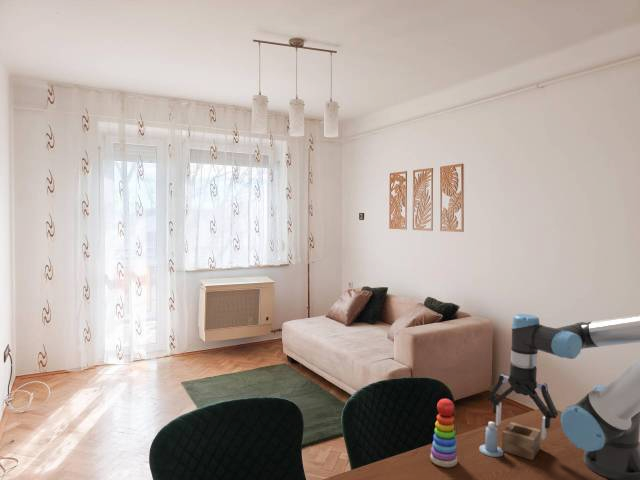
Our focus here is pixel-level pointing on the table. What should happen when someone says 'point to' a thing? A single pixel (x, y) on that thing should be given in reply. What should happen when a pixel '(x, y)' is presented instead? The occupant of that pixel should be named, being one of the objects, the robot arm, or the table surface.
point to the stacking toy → (444, 436)
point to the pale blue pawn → (491, 442)
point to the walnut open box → (521, 440)
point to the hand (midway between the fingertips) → (520, 430)
